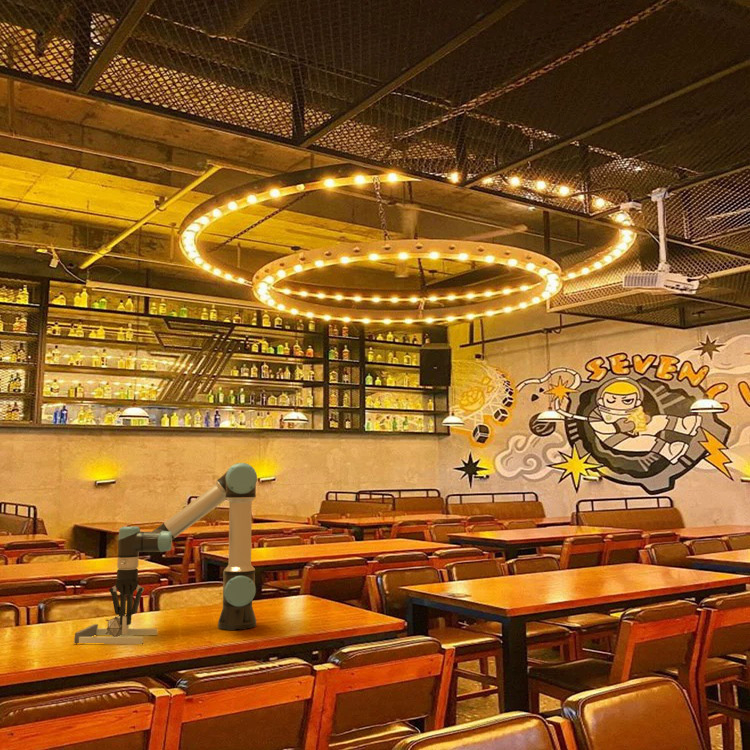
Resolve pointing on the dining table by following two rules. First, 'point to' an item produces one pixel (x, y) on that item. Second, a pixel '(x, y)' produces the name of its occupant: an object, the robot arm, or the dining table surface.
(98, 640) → the tan piece
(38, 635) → the dining table surface
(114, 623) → the game die
